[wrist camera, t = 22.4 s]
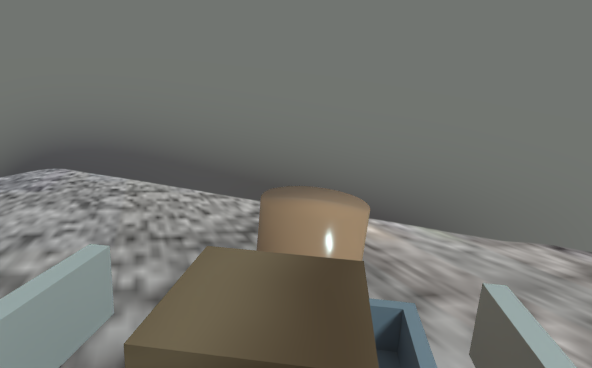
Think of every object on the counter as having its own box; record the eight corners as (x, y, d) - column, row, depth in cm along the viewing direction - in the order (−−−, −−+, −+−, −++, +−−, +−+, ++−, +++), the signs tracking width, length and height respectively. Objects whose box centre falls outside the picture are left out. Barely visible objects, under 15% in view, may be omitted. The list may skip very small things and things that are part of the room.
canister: (250, 427, 17) (268, 218, 15) (243, 352, 22) (256, 184, 20) (355, 418, 19) (388, 222, 16) (327, 348, 23) (349, 188, 21)
